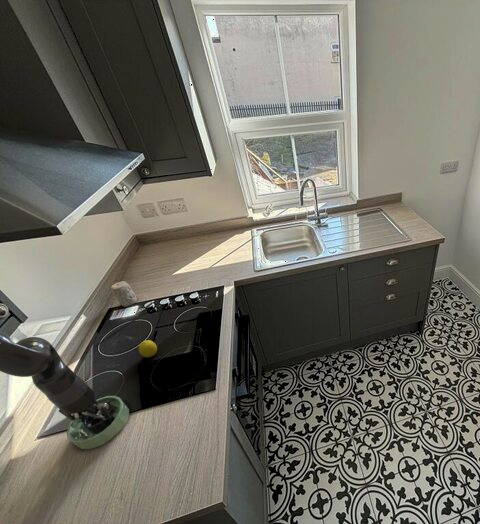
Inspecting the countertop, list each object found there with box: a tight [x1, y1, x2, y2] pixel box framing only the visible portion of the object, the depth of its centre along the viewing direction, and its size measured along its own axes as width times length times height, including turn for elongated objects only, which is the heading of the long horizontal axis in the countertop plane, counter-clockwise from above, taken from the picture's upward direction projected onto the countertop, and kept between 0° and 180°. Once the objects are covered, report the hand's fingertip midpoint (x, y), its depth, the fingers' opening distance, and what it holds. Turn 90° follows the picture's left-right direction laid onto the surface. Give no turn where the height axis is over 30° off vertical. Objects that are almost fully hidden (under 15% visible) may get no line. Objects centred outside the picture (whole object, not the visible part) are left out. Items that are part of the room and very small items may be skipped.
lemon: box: [138, 339, 158, 358], centre depth 113 cm, size 6×6×8 cm
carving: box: [110, 280, 137, 308], centre depth 138 cm, size 6×8×12 cm
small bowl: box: [83, 409, 114, 434], centre depth 91 cm, size 6×6×4 cm
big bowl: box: [66, 395, 130, 450], centre depth 91 cm, size 14×14×5 cm
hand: (101, 423), depth 92 cm, fingers closed on small bowl, 6 cm apart
